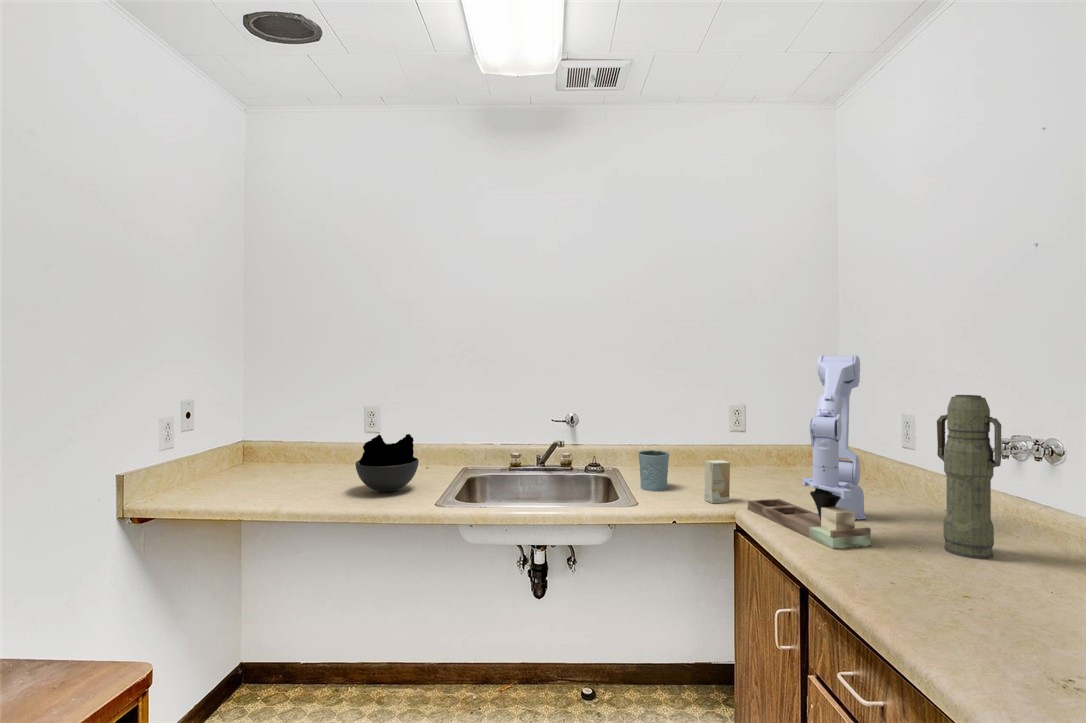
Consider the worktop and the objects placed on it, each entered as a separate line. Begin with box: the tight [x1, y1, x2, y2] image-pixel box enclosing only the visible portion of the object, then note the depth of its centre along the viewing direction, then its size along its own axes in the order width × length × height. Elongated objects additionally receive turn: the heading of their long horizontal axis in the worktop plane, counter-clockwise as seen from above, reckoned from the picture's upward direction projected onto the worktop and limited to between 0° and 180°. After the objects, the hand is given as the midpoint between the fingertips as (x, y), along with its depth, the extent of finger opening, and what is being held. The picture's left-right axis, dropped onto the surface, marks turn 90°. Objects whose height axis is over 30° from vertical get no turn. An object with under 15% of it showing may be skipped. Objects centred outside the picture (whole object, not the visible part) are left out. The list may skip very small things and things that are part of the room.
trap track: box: [747, 498, 872, 550], centre depth 143 cm, size 10×34×4 cm, turn 12°
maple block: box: [821, 506, 856, 532], centre depth 131 cm, size 5×5×5 cm
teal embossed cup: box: [637, 449, 670, 492], centre depth 185 cm, size 10×10×12 cm
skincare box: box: [704, 459, 731, 504], centre depth 168 cm, size 6×4×12 cm
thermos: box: [936, 394, 1002, 560], centre depth 123 cm, size 9×12×35 cm
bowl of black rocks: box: [355, 433, 420, 493], centre depth 182 cm, size 20×20×19 cm
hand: (825, 521), depth 135 cm, fingers closed
